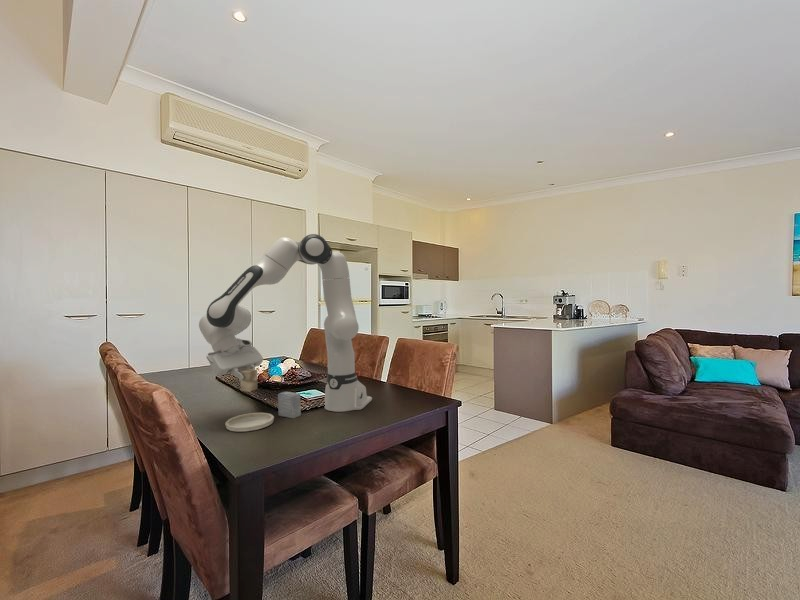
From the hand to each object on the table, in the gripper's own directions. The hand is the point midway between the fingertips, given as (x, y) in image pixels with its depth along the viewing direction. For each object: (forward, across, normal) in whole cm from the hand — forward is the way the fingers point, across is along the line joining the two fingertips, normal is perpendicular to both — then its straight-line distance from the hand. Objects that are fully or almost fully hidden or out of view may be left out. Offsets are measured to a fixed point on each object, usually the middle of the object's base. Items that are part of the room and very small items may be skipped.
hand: (249, 377), depth 139 cm
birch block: (+3, 0, +3) cm, 4 cm away
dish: (+12, 0, +12) cm, 17 cm away
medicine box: (+17, +13, +7) cm, 23 cm away
